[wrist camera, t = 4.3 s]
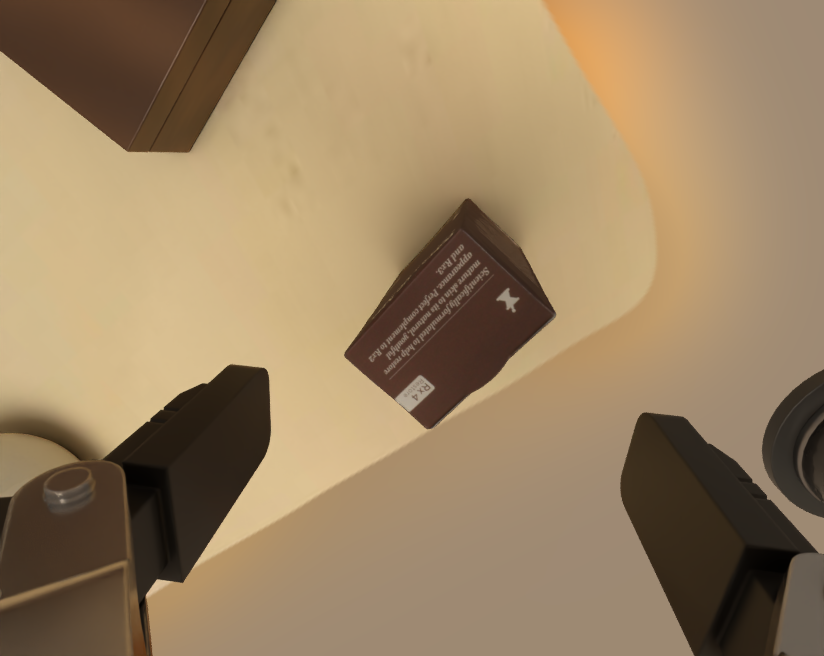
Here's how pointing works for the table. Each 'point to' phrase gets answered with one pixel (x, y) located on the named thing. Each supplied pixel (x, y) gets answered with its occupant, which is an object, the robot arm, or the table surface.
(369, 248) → the table surface
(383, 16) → the table surface
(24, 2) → the rack
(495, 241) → the box
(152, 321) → the table surface
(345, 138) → the table surface
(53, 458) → the vase
